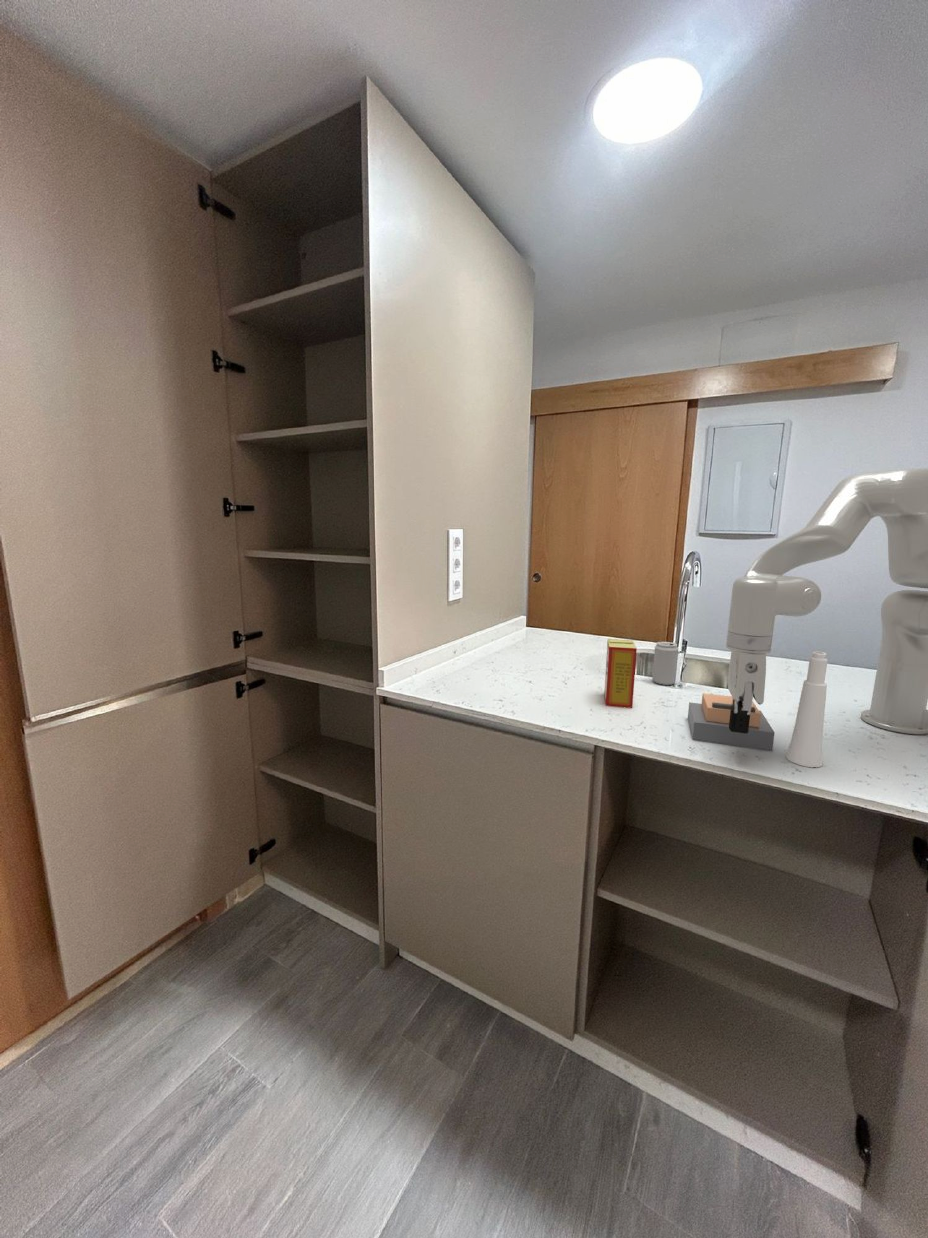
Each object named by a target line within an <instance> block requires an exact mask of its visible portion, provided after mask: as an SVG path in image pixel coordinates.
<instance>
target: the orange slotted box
mask: <svg viewBox="0 0 928 1238" xmlns="http://www.w3.org/2000/svg"><path fill="white" fill-rule="evenodd" d="M700 704H701V706H702V709H703V712H704V715H705V718H706V721H711V722H719V723H727V724H729V720H730V711H731V710H733V709H732V708H731V707H732V695H724V694H723V695H721V694H713V693H705V692H703V693H702V697H701V703H700ZM759 710H760V709H758V707H757V706H756V704H755V702H754V701H753V700H752V706H751V712H750V722H749V726H751V727H759V725H760V717H761V713H760V712H759Z"/></svg>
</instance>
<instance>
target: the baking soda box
mask: <svg viewBox="0 0 928 1238" xmlns="http://www.w3.org/2000/svg"><path fill="white" fill-rule="evenodd" d="M605 660H606V662H605V674H604V675H605V676H604V677H605V678H604V693H603V694H604V695H603V696H604V703H605V706H606V707H616V708H624V707H625V708H626V709H633V705H634V704H633V703H634V691H635V690H634V689H635V688H634V687H635V676H636V663H637V662H636V661H637V647H636V644H635V642H634V640H632V639H631V640H630V639H617V638H615V639H613V638H607V645H606V659H605ZM625 708H624V709H625Z"/></svg>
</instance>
